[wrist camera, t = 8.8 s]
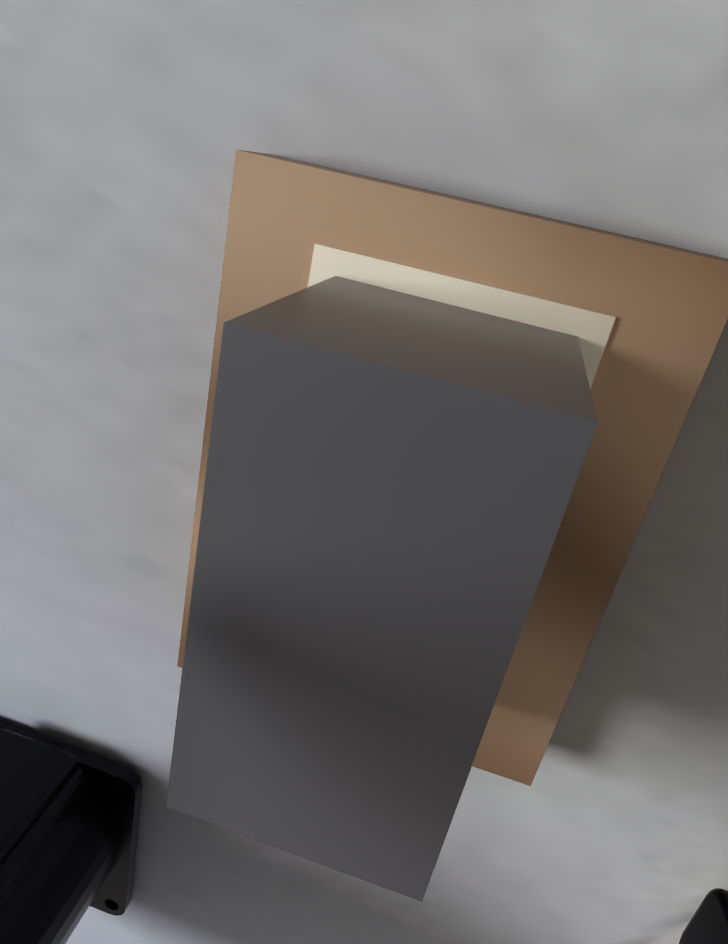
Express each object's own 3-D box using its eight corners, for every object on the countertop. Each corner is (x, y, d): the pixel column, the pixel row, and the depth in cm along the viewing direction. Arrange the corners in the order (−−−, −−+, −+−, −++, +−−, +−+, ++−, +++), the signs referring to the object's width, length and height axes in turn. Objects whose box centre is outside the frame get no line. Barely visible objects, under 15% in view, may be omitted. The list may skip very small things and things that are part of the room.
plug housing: (456, 697, 16) (421, 901, 11) (270, 636, 16) (166, 806, 12) (577, 336, 12) (597, 421, 8) (335, 275, 13) (223, 322, 8)
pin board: (531, 740, 18) (530, 789, 16) (203, 632, 19) (175, 668, 17) (727, 259, 13) (750, 268, 11) (266, 153, 14) (234, 149, 12)
